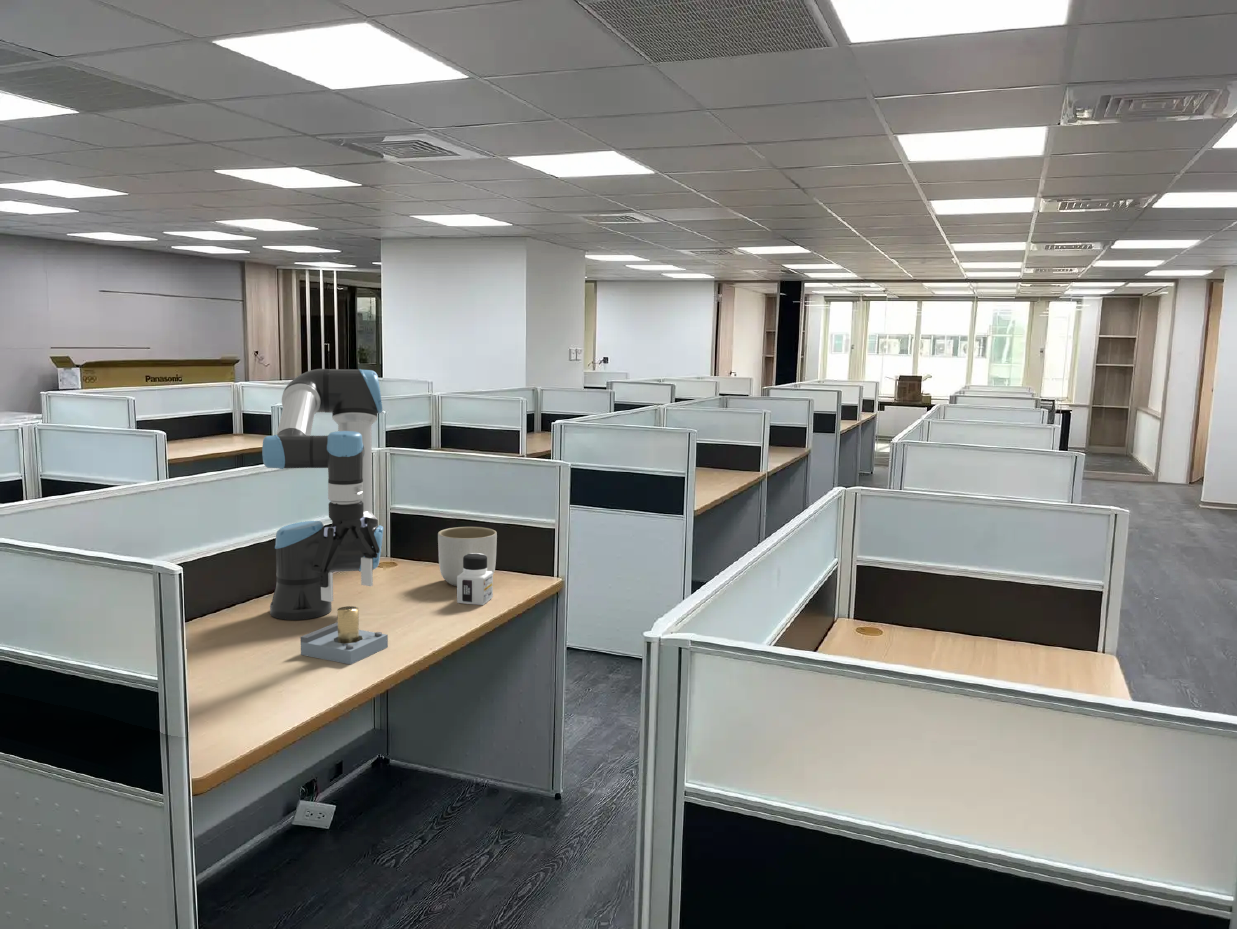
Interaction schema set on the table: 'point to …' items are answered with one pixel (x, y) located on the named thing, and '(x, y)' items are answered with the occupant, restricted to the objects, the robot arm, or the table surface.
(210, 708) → the table surface
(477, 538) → the planter
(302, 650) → the jig
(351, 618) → the brass cylinder
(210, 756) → the table surface
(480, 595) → the container
